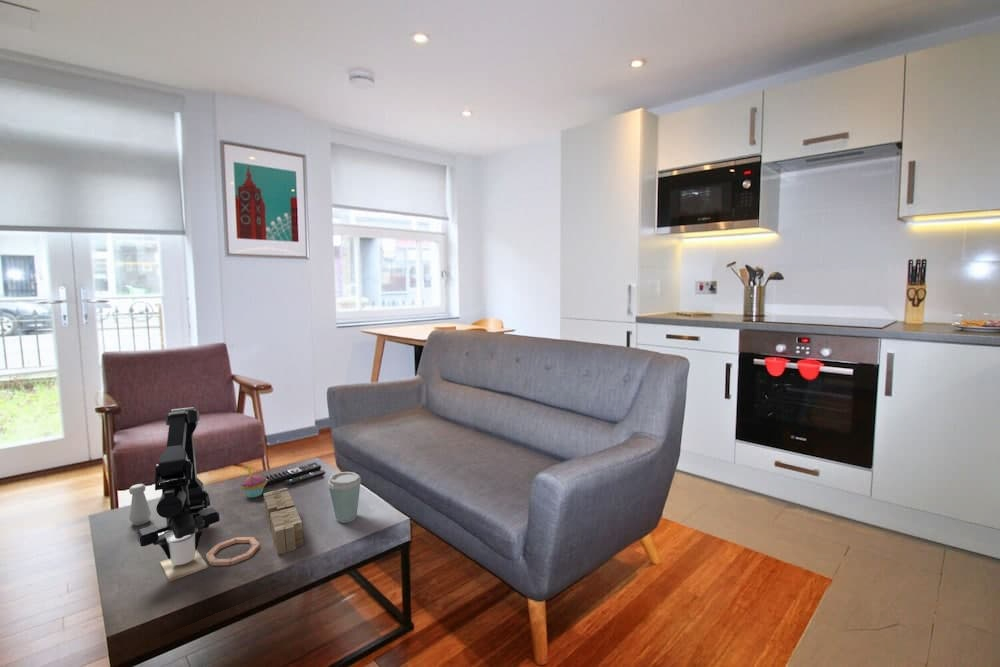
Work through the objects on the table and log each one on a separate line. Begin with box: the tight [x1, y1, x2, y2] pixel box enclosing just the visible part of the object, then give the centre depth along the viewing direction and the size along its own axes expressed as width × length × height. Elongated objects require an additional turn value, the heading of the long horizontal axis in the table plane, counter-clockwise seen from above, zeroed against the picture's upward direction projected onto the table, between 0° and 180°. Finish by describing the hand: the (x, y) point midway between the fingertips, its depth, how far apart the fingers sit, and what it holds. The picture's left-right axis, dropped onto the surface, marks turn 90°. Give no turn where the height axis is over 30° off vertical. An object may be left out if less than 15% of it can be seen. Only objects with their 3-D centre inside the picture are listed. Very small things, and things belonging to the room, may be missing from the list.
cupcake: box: [240, 463, 268, 499], centre depth 182 cm, size 9×8×12 cm
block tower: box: [262, 487, 304, 555], centre depth 157 cm, size 8×8×29 cm
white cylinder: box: [166, 533, 195, 565], centre depth 138 cm, size 7×7×7 cm
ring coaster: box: [205, 536, 260, 566], centre depth 144 cm, size 13×13×1 cm
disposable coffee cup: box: [327, 471, 362, 524], centre depth 162 cm, size 11×11×15 cm
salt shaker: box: [128, 483, 152, 527], centre depth 162 cm, size 6×6×13 cm
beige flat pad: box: [159, 549, 208, 583], centre depth 138 cm, size 12×9×1 cm
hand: (182, 554), depth 138 cm, fingers closed on white cylinder, 6 cm apart
